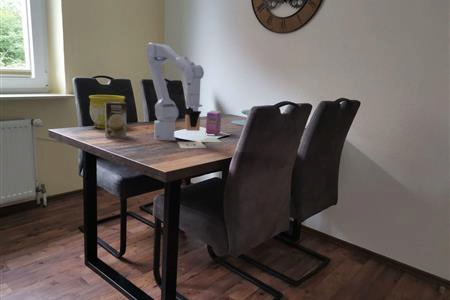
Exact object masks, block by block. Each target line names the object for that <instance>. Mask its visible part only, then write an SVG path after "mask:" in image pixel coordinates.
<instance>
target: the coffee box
mask: <svg viewBox="0 0 450 300" xmlns="http://www.w3.org/2000/svg"><path fill="white" fill-rule="evenodd" d="M104 136H105V138H106V139H109V138H110V139H117V138H119V139H120V138H121V139H122V138H125V139H126V138H127V103H126V102H125V101H124V102H105V129H104Z"/></svg>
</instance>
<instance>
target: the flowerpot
mask: <svg viewBox="0 0 450 300" xmlns="http://www.w3.org/2000/svg"><path fill="white" fill-rule="evenodd" d="M88 98H89V99H90V101H89V104H90V105H89V115H90V118H91V121H93V123H94V124H93V126H94V127H95V128H96V127H97V128H96V129H100V128H101V130H105V102H125V99H126V96H124V95H113V94H111V95H110V94H94V95H93V94H92V95H89V96H88Z"/></svg>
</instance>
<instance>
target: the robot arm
mask: <svg viewBox="0 0 450 300" xmlns="http://www.w3.org/2000/svg"><path fill="white" fill-rule="evenodd" d="M144 52H145V56H146V60H147V62H148V67H149V71H150V75H151V79H152V82H153V86H154V87H153V88H154V90H155V91H154V92H155V93H156V98H157V102H156V103H155V105H154V114H155V117H156V119H157V120H154V122H153V123H154V124H153V125H154V128H153V129H154V130H153V137H154V140H155V141H177V139H176V138H175V126H176V125H175V124H176V123H175V122H176V121H177V119H178V117H179V115H180V113H179V109H178V107H177V105H176V103H175V101H173V100H172V99H171V98H170V95H169V91H168V87H167V83H166V79H165V75H164V73H163V68H162V66H163V65H164V64H165V63H166V61H167V60H168V59H169V60H170V61H171V62H173V63H175V68H177V69H178V70H179V71H180V72H182V73H183V74H184V77H185V83H186V100H185V101H186V103H185V107H187V108H184V111H185V113H186V114H185V115H189V117H190V125H191V127H196V125H197V121H198V117H199V116H200V115H201V113H202V111H201V110H199V108H201V107H203V104H201V102H200V100H201V79H203V77H204V73H205V71H204V68H203V67H202V65H199V64H195V62H194V61H191V60H189V59H188V56H186V55H183V56H182V55H181V56H180V55H179V54H178V53H176V52H175V51H174V50H173V49H172V47H171V46H169V45H168V44H166V43H165V44H162V43H154V42H149V43H148V44H147V45H146V49H145V51H144Z"/></svg>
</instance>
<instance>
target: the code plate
mask: <svg viewBox="0 0 450 300" xmlns="http://www.w3.org/2000/svg"><path fill="white" fill-rule="evenodd" d="M203 143H204V142H202V141H177V144H178V146H179V148H180V149H207V146H205V145H204V144H203Z"/></svg>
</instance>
